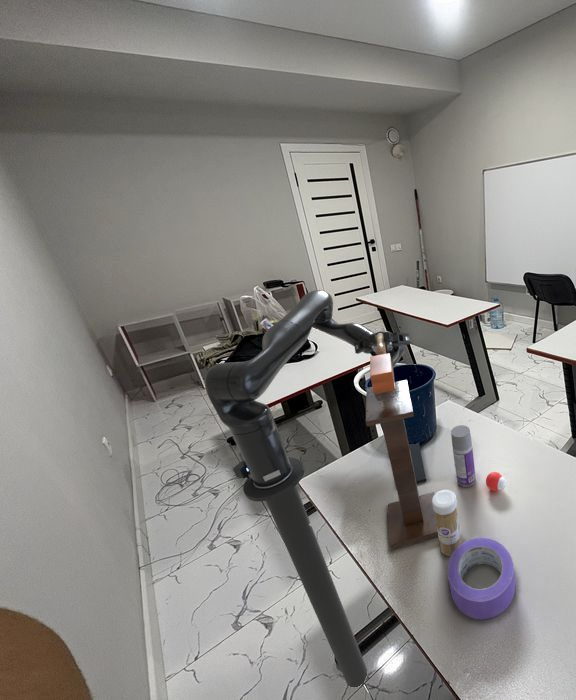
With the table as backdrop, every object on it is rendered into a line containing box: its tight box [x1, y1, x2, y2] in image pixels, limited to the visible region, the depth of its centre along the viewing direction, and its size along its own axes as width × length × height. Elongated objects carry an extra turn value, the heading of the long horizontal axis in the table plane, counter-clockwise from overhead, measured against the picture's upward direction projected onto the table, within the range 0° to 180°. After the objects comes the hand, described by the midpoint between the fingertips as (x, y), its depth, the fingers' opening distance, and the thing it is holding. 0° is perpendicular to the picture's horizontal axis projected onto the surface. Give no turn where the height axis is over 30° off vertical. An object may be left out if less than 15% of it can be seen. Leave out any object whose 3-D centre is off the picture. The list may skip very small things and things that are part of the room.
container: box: [450, 424, 477, 488], centre depth 85 cm, size 5×5×15 cm
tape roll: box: [447, 536, 516, 620], centre depth 64 cm, size 12×12×5 cm
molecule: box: [485, 471, 507, 492], centre depth 84 cm, size 5×5×4 cm
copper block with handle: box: [369, 333, 396, 394], centre depth 70 cm, size 23×4×4 cm, turn 13°
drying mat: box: [409, 442, 427, 484], centre depth 96 cm, size 16×7×1 cm, turn 14°
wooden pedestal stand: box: [365, 379, 439, 551], centre depth 72 cm, size 12×11×32 cm
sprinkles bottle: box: [432, 489, 463, 557], centre depth 70 cm, size 5×5×14 cm
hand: (379, 337), depth 75 cm, fingers closed on copper block with handle, 2 cm apart
